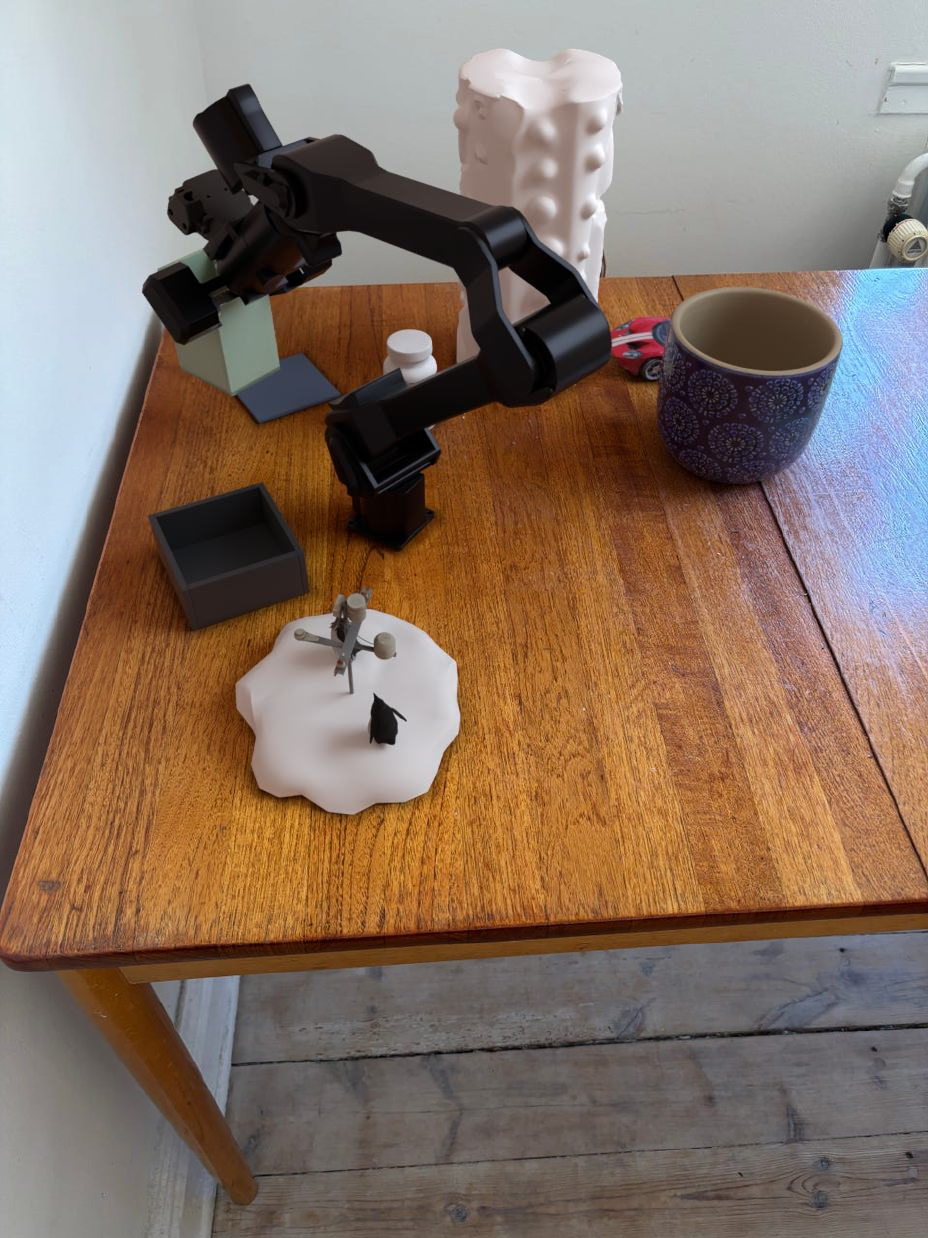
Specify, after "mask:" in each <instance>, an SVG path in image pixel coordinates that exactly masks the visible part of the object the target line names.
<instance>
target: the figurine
mask: <svg viewBox="0 0 928 1238" xmlns="http://www.w3.org/2000/svg"><path fill="white" fill-rule="evenodd" d="M372 593H373V590H372V589H370V587H369V586H367V587H366V588H364V587H363V588H362V590H361V592H359V591H356V592H354V593H352V594H350V595H349V596H348V597H346V594H345V595H344V594H341V593H338V594H337V597H336V600H335V603H334V605H333V608H332V612H330V613H325V614H319V615H310V616H303V617H301V618H297V619H294V620H292V621H289V622H288V623H286V624H285V625H284V626H283V627H282V629H281V631H280V632H279V634H278V635H277V637H276V638H275V642H274V645H273V647H272V649H271V652H269V653H268V654H267V655H266V656H264V658H262V659H261V660H260V661H259V662H258V663H257V664H256V665H254V666H253V667H252V668H251V669H249V671H247V672H246V673H245V674H244V675H243V676H242V677H241V678H240V679H239V680H238V681H237V682H235V703H236V710H237V711H238V712H239V714H240V715H241V716H242V718H243V719H244V720H245V721H246V723H247V724H248V725H249V727H250V728H251V729H252V731H253V734H254V736H255V742H254V747H253V753H252V758H251V763H250V766H251V769H252V772H253V774H254V777H255V780H256V783H257V786H258V788H259V789H260V790H263V791H265V792H266V793H269V794H271V795H273V796H275V797H277V798H285V797H293V796H303V797H305V798H306V799H307V800H309V801H310V802H312V803H313V804H315V805H316V806H318V807H320V808H322V810H325V812H328V813H334V814H344V815H350V816H351V815H352V816H353V815H356V814H358V813H360V812H362V811H363V810H366V809H367V808H369V807H371V806H373V805H376V804H387V803H389V804H390V803H393V804H394V803H407V802H408V801H411V800H413V799H415V798H418V797H420V796H421V795H424V794H426V793H428V792H429V790H430V788H431V786H432V784H433V782H434V779H435V777H436V776H437V774H438V771H439V768H440V764H441V763H442V759H443V756H444V753H445V751H446V750H447V748H448V747H449V746H450V745H451V743H452V742H453V741H454V740H455V739H456V738H457V736H458V734H459V731H460V723H461V713H460V708H459V703H458V685H459V684H458V680H459V678H458V666H457V661H455V660H454V659H453V658H452V657H451V656H450V655H449V654H448V653H446V651H444V650H443V649H442V648H441V647H440V646H439V645H438V643H436V642H435V641H434V640H433V638H431V637H430V635H428V632H426V631H424V630H423V629H421V628H419V627H418V626H416V625H414V624H412V623H410V622H408V621H406V620H403V619H401V618H399V617H397V616H394V615H392V614H388V613H385V612H382V611H379V610H376V609H372V608H371V609H370V608H368V606H369V602H370V599H371V596H372Z"/></svg>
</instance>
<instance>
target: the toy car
mask: <svg viewBox="0 0 928 1238" xmlns="http://www.w3.org/2000/svg"><path fill="white" fill-rule="evenodd" d="M670 319H671V317H663V316H638V317H635V318H633V319H630V320H628V321H625V322H624V323H622V324H619V325H617V326H616V327H615V328H613V329H612V330H610V332H611V339H612V349H611V353H610V354H611V356H613V357H614V358H615V360H616V362H617V364H618V366H619V368H621V369H622V370H626V371H629V372H630V374H631V375H634V376H638V375H641V376H642V377H643V378H644V379H645V380H646V381H653V380H655V381H657V380H659V377H660V371H661V364H662V357H663V352H664V347H665V341H666V336H667V331H668V327H669V323H670Z"/></svg>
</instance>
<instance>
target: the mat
mask: <svg viewBox="0 0 928 1238" xmlns="http://www.w3.org/2000/svg"><path fill="white" fill-rule="evenodd" d="M279 364H280V370H278V371H276V372H275V373H273V374H271V375H269V376H268V377H266V378H264V379H262V380H261V381H259V382H257V383H255V384H254V385H252V386H250V387H248V388H246V389H245V390H243V391H241V392H239V393H238V394H236V395H235V396H236V397H237V399H239V401H240V402H241V403H242V404H243V405H244V407H245V408H246V409H247V410H248V411H249V413H250V414H251V415H252V416H253V418H254V419H255V420H256V422H257V423H258V424H262V423H265V422H269V421H272V420H274V419H278V418H280V417H284V416H287V415H290V414H292V413H296V412H299V411H302V410H305V409H308V408H311V407H314V406H318V405H321V404H323V403H326V402H330V401H333V400H336V399H338V398H340V397H341V396H342V395H341V393H340V391H339V390H338V389H337V388H336V387H335V386H334V385H333V384H332V383H331V382H330V381H329V380H328V379H327V378H326V377H325V375H324V374H323V373H322V372H321V371H320V370H319V369H318V368H317V367H316V366H315V365H314V364H313V363H312V362H311V361H310V359H308V357H306V356H305V354H304V353H302V352H300V353H297V354H293V355H290V356H287V357H284V358H279Z"/></svg>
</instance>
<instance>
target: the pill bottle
mask: <svg viewBox="0 0 928 1238" xmlns="http://www.w3.org/2000/svg"><path fill="white" fill-rule="evenodd" d="M386 353H387V356H386V357H385V359H384V362H383V364H382V373H383V374H382V375H386V374H387V373H389V372H391V371H393V370H395V369H397V368H399V367H400V369H401V372H402V375H403V377H404V380H405V381H407V382H408V383H410V384H414V383H416V382H418V381H420V380H422V379H425V378H427V377H429V376H431V375H433V374H435V373H438V365H437V361H436V359H435V357H434V356H433V355H432V353H433V341H432V337H431V336H430V335H429V334H427V333H426V332H424V331H422V330H419V329H413V328H412V329H401V330H398V331H395V332H393V333H391V334H390V335H389V336H388V337H387V340H386ZM435 426H436V424H435V425H433V426H430V427H428V428H429V430H430V431H431V430H432V429H433V428H435Z"/></svg>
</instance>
